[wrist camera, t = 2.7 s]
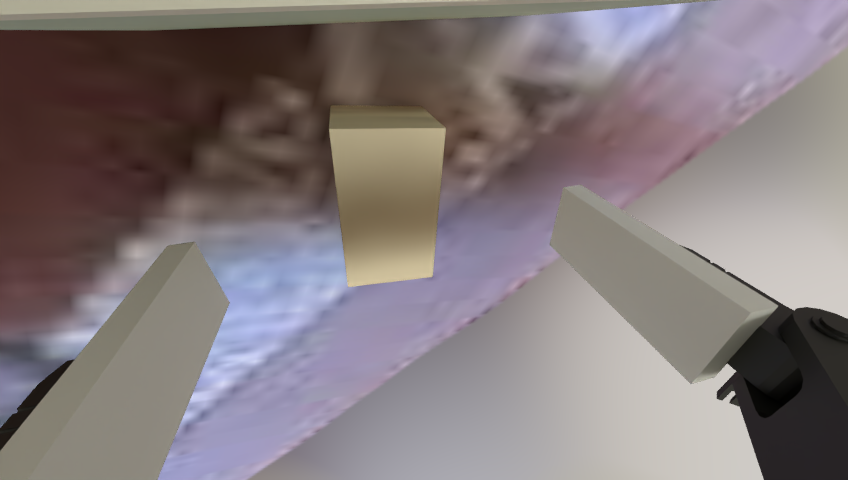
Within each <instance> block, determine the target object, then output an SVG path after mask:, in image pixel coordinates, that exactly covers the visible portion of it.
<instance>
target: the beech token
mask: <svg viewBox="0 0 848 480" xmlns="http://www.w3.org/2000/svg"><path fill="white" fill-rule="evenodd" d="M445 132H446V128H445V127H444V126H443V125H442V124H441V123H440V122H438V121H437V120H436V119H435V118H434V117H433V116H432V115H431V114H429V113H428V112H427V111H426V110H425V109H424V108H423V107H422V106H342V105H331V107H330V122H329V133H330V142H331V150H332V158H333V166H334V175H335V183H336V191H337V199H338V208H339V216H340V224H341V232H342V241H343V249H344V257H345V265H346V274H347V282H348V287H353V286H361V285H369V284H377V283H386V282H394V281H402V280H411V279H419V278H427V277H433V266H434V254H435V243H436V232H437V221H438V210H439V199H440V188H441V176H442V165H443V154H444V143H445Z"/></svg>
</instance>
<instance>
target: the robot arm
mask: <svg viewBox="0 0 848 480" xmlns="http://www.w3.org/2000/svg"><path fill="white" fill-rule="evenodd" d="M550 246H551V247H552V248H553V249H554V250H555V251H556V252H557V253H558V254H559V255H560V256H562V257H563V258H564V259H565V260H566V261H567V262H568V263H569V264H570V265H571V266H572V267H573V268H574V269H575V270H576V271H577V272H578V273H579V274H580V275H581V276H582V277H583V278H584V279H585V280H586V281H587V282H588V283H589V284H590V285H591V286H592V287H593V288H594V289H595V290H596V291H597V292H598V293H599V294H600V295H601V296H602V297H603V298H604V299H605V300H606V301H607V302H608V303H609V304H610V305H611V306H612V307H613V308H614V309H615V310H616V311H617V312H618V313H619V314H620V315H621V316H622V317H623V318H624V319H626V321H627V322H629V324H630V325H631V326H633V327H634V328H635V329H636V330H637V331H638V332H639V333H640V334H641V335H642V336H643V337H644V338H645V339H646V340H647V341H648V342H649V343H650V344H651V345H652V346H653V347H654V348H655V349H656V350H657V351H658V352H659V353H660V354H661V355H662V356H663V357H664V358H665V359H666V360H667V361H668V362H669V363H670V364H671V365H672V366H673V367H674V368H675V369H676V370H677V371H678V372H679V373H680V374H681V375H682V376H683V377H684V378H685V379H686V380H687V381H688V382H689V383H690V384H693V383H697V382H700V381H704V380H707V379H710V378H714V377H715V376H716V375H717V374H718V373H719V372H720V371H721V369H722V368H723V367H724V366H725V365H726V364H727V363H728V364H729V365H730V366H731V367H732V368H733V369H735V370H736V372H735V373H734V375H733V376H732V377H731V378H730V379H729V380H728V381H727V382H726V383H725V384H724V385H723V386H722V387H721V388H720V389H719V390H718V391H717V399H719V400H723V399H724V398H725V397H726V396H727V395H728V394H729V393H730V392H731V391H735V394H736V395H735V396H734V397H733V398H732V399H731V400H730V403H731V404H734V405H737V406H740V409H741V412H742V415H743V418H744V421H745V424H746V427H747V430H748V433H749V436H750V439H751V442H752V445H753V448H754V451H755V454H756V457H757V460H758V463H759V466H760V469H761V472H762V475H763V478H764V480H848V319H846V318H844V317H842V316H840V315H837V314H835V313H831V312H828V311H824V310H821V309H816V308H808V307H804V308H797V309H796V310H795V311H794V310H792V309H790V308H788V307H786V306H784V305H783V304H781V303H779V302H778V301H776V300H775V299H773V298H771V297H769V296H768V295H766V294H765V293H763V292H761V291H760V290H758V289H756V288H755V287H753V286H751V285H750V284H748V283H746V282H744V281H743V280H741V279H740V278H738V277H736V276H735V275H733V274H731V273H730V272H725V270H724V269H723V268H721V267H720V266H718V265H717V264H714V263H710V260H708V259H707V258H705V257H703V256H701V255H700V254H698V253H696V252H695V251H693V250H691V249H689V248H686V247H683V246H681V245H678V244H677V243H675V242H673V241H672V240H670V239H669V238H667V237H665V236H664V235H662V234H660V233H659V232H657V231H655V230H654V229H652V228H650V227H649V226H647V225H646V224H644V223H642V222H641V221H639V220H637V219H636V218H634V217H633V216H631V215H629V214H628V213H626V212H624V211H623V210H621V209H619V208H618V207H616V206H615V205H613V204H611V203H610V202H608V201H606V200H605V199H603V198H601V197H600V196H598V195H597V194H595V193H593V192H592V191H590V190H588V189H587V188H585V187H584V186H582V185H577V186H570V187H564V188H563V192H562V196H561V200H560V204H559V208H558V212H557V216H556V221H555V225H554V229H553V233H552V237H551V241H550ZM229 303H230V302H229V301H228V299H227V297H226V295H225V294H224V292H223V290H222V289H221V287H220V285H219V283H218V282H217V280H216V278H215V276H214V275H213V273H212V271H211V269H210V268H209V266H208V264H207V262H206V261H205V259H204V257H203V255H202V254H201V252H200V250H199V248H198V247H197V245H196V243H195V242H190V243H183V244H176V245H169V246H167V247H166V249H165V250H164V251H163V252H162V253H161V255H160V256H159V257H158V258H157V260H156V261H155V262H154V263H153V264H152V266H151V267H150V268H149V269H148V271H147V272H146V273H145V274H144V276H143V277H142V278H141V279H140V280H139V282H138V283H137V284H136V285H135V287H134V288H133V289H132V290H131V291H130V293H129V294H128V295H127V296H126V298H125V299H124V300H123V301H122V302H121V304H120V305H119V306H118V307H117V309H116V310H115V311H114V312H113V313H112V315H111V316H110V317H109V318H108V320H107V321H106V322H105V323H104V324H103V326H102V327H101V328H100V329H99V331H98V332H97V333H96V334H95V335H94V337H93V338H92V339H91V340H90V342H89V343H88V344H87V345H86V347H85V348H84V349H83V350H82V351H81V353H80V354H79V355H78V356H77V358H76V359H75V360H70V361H67V362H65V363H64V364H63V365H62V366H60V367H59V368H58V369H57V370H55V371H54V372H53V373H52V374H50V375H49V376H48V377H47V378H45V379H44V380H43V381H42V382H40V383H39V384H38V385H37V386H36V388H35V389H34V390H33V391H32V392H31V393H30V395H29V396H28V397H27V398H26V399H25V400H24V402H23V403H22V404H21V405H20V406H19V407H18V408H17V410H18V412H17V413H16V414H12V415H11V417H10V418H9V419H8V420H7V421H6V422H5V424H4V425H3V426H2V427H1V428H0V480H157V479H158V477H159V474H160V472H161V469H162V467H163V464H164V462H165V460H166V457H167V455H168V452H169V450H170V447H171V445H172V442H173V440H174V438H175V435H176V433H177V430H178V428H179V425H180V423H181V420H182V418H183V416H184V413H185V411H186V408H187V406H188V403H189V401H190V398H191V396H192V394H193V391H194V389H195V386H196V384H197V381H198V379H199V376H200V374H201V372H202V369H203V367H204V364H205V362H206V359H207V357H208V354H209V352H210V350H211V347H212V345H213V342H214V340H215V337H216V335H217V333H218V330H219V328H220V325H221V323H222V320H223V318H224V315H225V313H226V311H227V308H228V306H229Z"/></svg>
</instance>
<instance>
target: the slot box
mask: <svg viewBox="0 0 848 480" xmlns="http://www.w3.org/2000/svg"><path fill="white" fill-rule="evenodd" d="M703 1H715V0H0V30H175V29H201V28H226V27H251V26H276V25H302V24H327V23H352V22H377V21H403V20H428V19H453V18H479V17H504V16H528V15H540V14H553V13H565V12H578V11H590V10H603V9H615V8H628V7H640V6H653V5H665V4H678V3H690V2H703Z"/></svg>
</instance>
